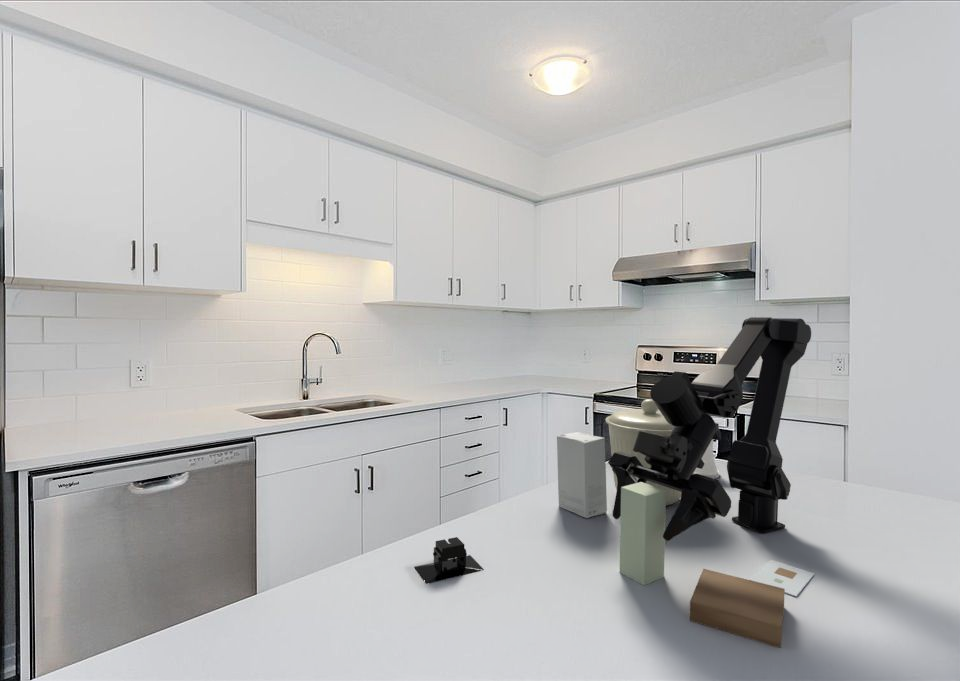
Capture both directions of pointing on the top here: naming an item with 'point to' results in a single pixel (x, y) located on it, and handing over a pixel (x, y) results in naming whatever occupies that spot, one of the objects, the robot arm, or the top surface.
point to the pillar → (642, 532)
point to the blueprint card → (783, 577)
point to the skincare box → (582, 474)
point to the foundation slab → (739, 606)
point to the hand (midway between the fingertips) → (638, 527)
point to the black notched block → (448, 562)
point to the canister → (626, 431)
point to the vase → (708, 464)
